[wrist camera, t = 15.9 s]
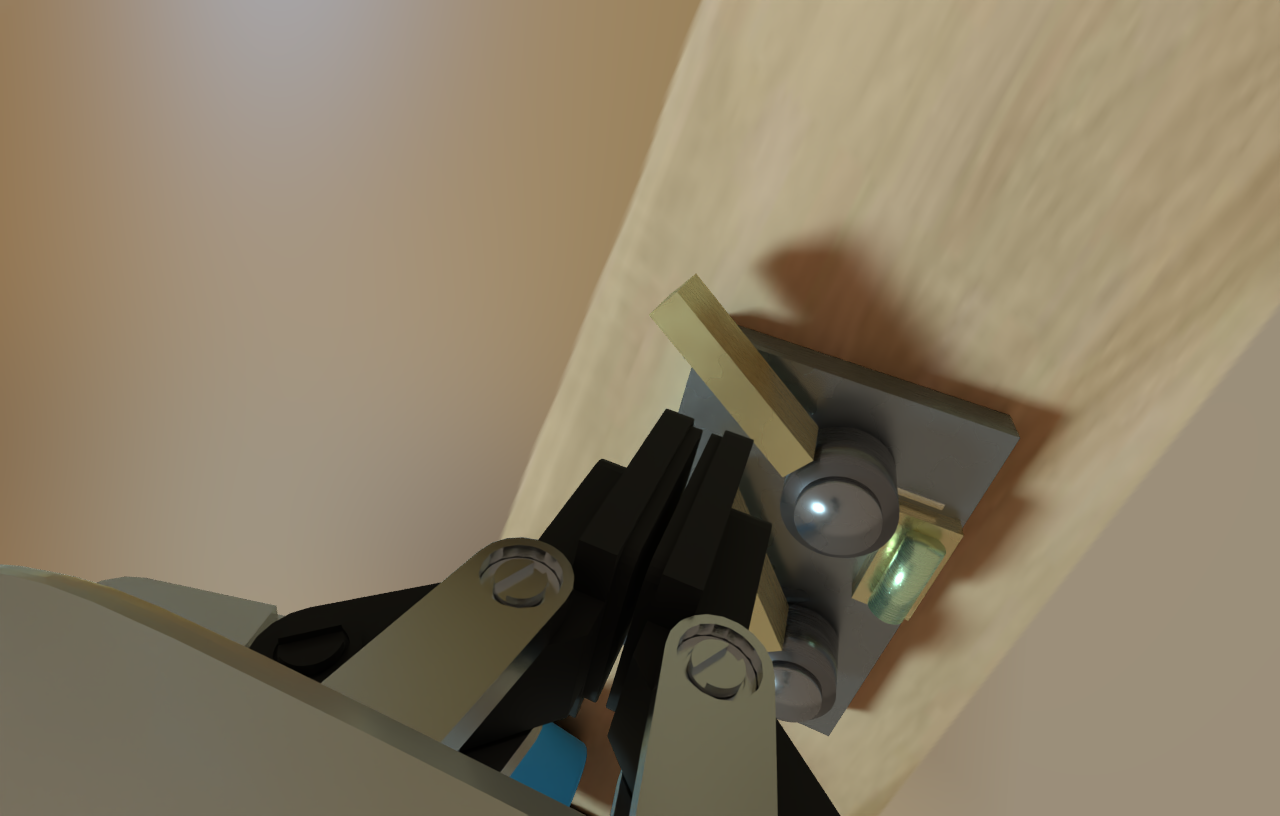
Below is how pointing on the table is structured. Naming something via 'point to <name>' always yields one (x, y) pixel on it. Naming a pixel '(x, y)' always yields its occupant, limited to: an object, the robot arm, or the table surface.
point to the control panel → (926, 481)
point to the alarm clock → (553, 764)
